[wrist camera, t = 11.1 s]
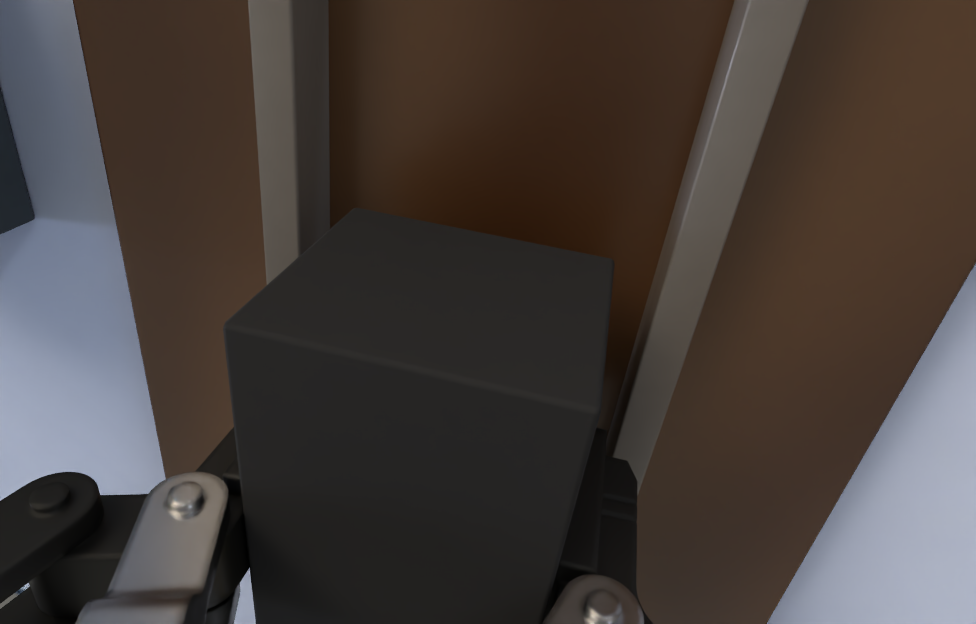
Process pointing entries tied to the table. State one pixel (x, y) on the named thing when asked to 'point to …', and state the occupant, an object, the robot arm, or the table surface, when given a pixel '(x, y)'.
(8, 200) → the pad
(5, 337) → the table surface
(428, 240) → the pad
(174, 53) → the mount board
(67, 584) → the robot arm
